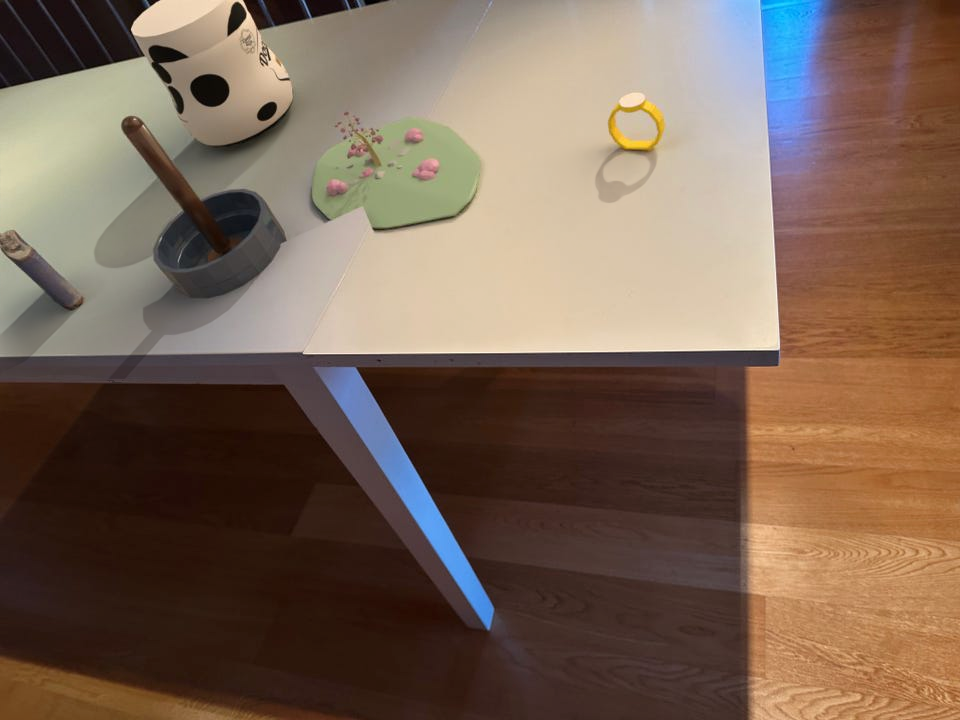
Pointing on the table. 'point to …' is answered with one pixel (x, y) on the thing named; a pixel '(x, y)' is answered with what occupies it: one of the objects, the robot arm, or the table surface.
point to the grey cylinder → (39, 270)
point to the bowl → (188, 250)
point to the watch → (634, 104)
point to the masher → (178, 187)
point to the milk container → (215, 68)
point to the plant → (397, 173)
